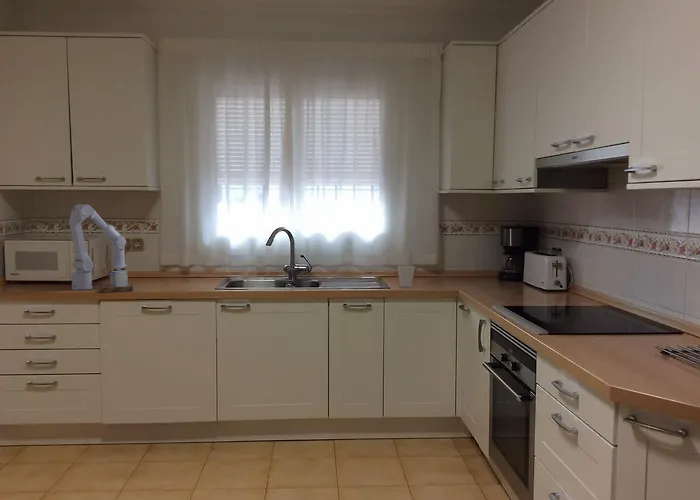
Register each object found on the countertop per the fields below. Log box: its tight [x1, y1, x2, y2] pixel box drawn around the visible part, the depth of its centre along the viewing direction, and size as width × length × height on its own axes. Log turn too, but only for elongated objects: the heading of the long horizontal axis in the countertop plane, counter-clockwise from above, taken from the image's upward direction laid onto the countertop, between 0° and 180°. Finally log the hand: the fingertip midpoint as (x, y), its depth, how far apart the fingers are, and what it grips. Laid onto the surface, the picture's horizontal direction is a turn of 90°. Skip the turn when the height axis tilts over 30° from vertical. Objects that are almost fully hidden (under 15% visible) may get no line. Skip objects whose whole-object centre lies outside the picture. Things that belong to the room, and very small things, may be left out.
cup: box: [396, 265, 416, 288], centre depth 326 cm, size 10×10×11 cm
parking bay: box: [101, 283, 134, 294], centre depth 310 cm, size 14×11×2 cm
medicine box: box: [109, 269, 129, 287], centre depth 321 cm, size 8×4×9 cm, turn 149°
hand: (119, 281), depth 329 cm, fingers closed
